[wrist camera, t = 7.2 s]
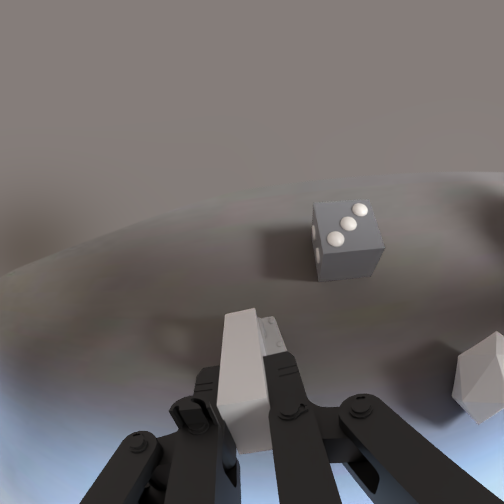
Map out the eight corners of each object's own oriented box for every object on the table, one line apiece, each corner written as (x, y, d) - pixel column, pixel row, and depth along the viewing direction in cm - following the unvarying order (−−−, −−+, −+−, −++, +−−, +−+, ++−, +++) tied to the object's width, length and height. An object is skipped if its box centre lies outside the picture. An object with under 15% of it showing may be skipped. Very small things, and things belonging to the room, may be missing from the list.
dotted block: (359, 232, 32) (369, 198, 27) (370, 276, 29) (385, 246, 24) (310, 236, 33) (311, 202, 28) (317, 282, 30) (321, 253, 24)
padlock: (295, 397, 24) (298, 392, 15) (253, 404, 24) (233, 403, 15) (282, 329, 28) (277, 289, 19) (242, 336, 28) (220, 300, 19)
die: (465, 436, 18) (540, 401, 11) (434, 424, 17) (529, 381, 10) (463, 375, 24) (527, 338, 17) (432, 351, 23) (508, 303, 17)
